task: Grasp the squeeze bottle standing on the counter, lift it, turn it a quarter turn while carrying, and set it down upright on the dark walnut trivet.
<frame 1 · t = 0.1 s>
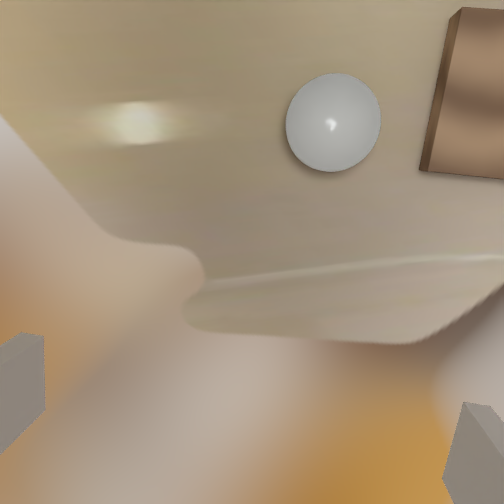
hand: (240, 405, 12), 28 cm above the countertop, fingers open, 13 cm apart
white dome cap: (328, 128, 36), on the countertop
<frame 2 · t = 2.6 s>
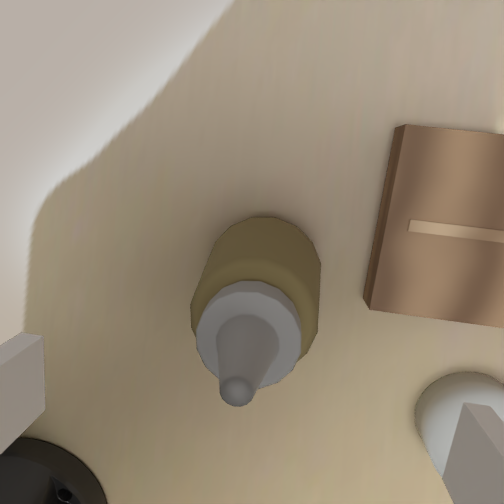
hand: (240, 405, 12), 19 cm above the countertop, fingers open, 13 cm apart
walnut trivet: (466, 228, 28), on the countertop
squeeze bottle: (266, 260, 30), on the countertop
white dome cap: (463, 414, 32), on the countertop
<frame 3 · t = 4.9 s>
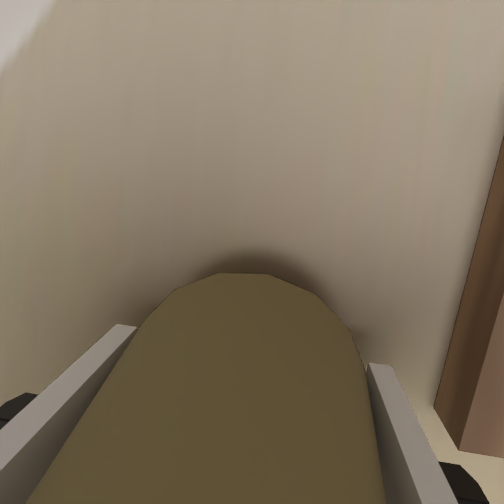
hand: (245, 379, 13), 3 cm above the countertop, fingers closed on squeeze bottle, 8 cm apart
squeeze bottle: (255, 335, 17), on the countertop, touching gripper
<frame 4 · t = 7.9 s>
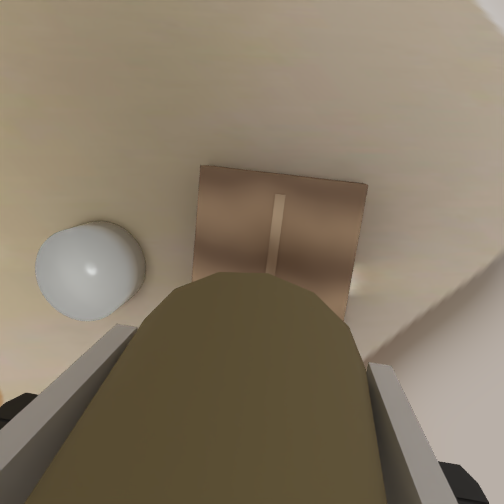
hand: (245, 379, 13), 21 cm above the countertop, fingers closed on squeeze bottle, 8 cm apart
walnut trivet: (274, 249, 33), on the countertop
squeeze bottle: (255, 334, 17), point 17 cm above the countertop, touching gripper
white dome cap: (104, 263, 35), on the countertop
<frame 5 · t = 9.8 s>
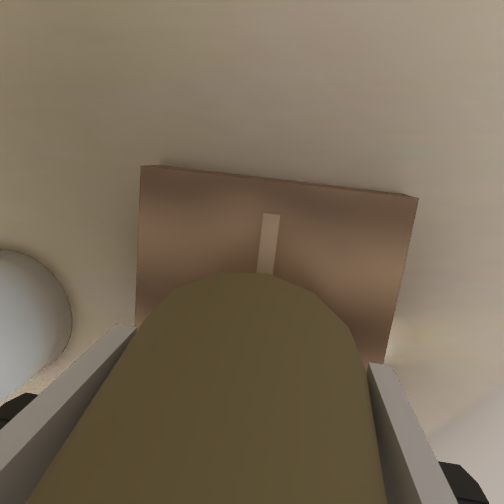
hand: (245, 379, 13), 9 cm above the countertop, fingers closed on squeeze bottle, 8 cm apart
walnut trivet: (263, 294, 22), on the countertop
squeeze bottle: (255, 335, 17), point 5 cm above the countertop, touching gripper
white dome cap: (11, 311, 24), on the countertop
when the fingers open (7 cm above the countertop, at t = 11.0 s): squeeze bottle drops 1 cm, resting on walnut trivet.
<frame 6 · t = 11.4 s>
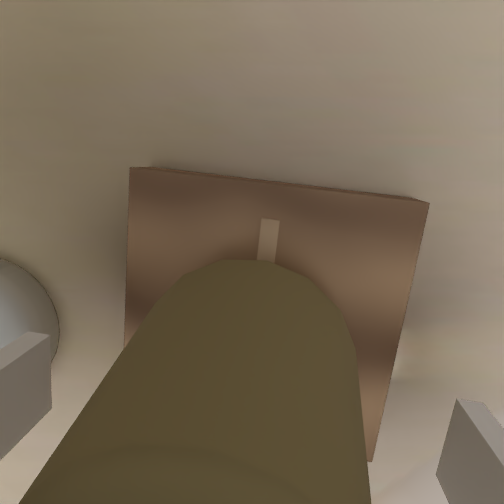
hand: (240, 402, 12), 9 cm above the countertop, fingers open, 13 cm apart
walnut trivet: (262, 304, 20), on the countertop
squeeze bottle: (256, 321, 18), point 2 cm above the countertop, touching walnut trivet
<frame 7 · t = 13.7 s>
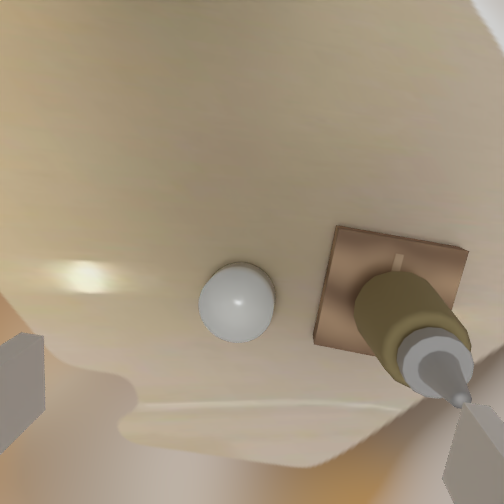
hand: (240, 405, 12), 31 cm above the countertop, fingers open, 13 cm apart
walnut trivet: (382, 292, 42), on the countertop
squeeze bottle: (387, 298, 40), point 2 cm above the countertop, touching walnut trivet
white dome cap: (241, 295, 44), on the countertop
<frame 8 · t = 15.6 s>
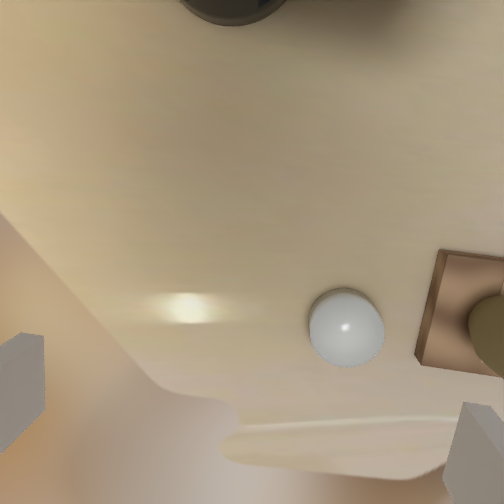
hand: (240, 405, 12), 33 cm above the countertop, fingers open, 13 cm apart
walnut trivet: (484, 311, 43), on the countertop
squeeze bottle: (495, 319, 41), point 2 cm above the countertop, touching walnut trivet
white dome cap: (342, 320, 45), on the countertop
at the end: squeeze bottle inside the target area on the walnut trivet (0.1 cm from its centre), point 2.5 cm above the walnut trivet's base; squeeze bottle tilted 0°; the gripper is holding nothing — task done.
